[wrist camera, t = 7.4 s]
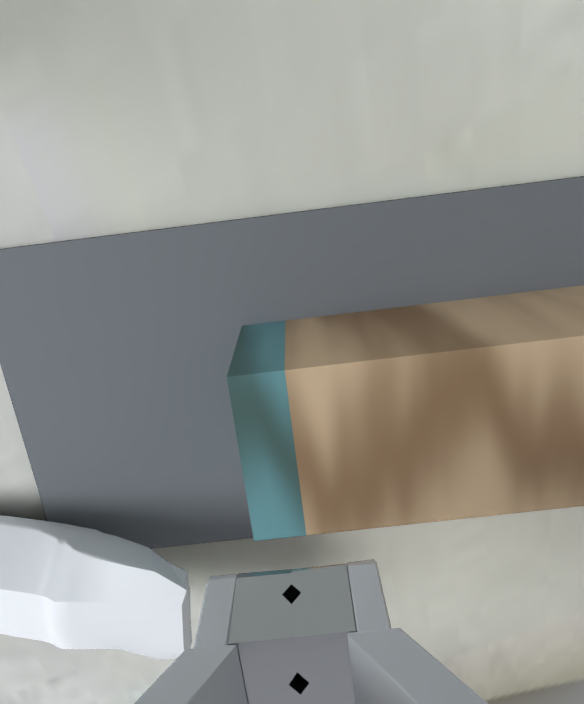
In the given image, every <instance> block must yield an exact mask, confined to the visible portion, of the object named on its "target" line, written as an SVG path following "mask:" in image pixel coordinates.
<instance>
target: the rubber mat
mask: <svg viewBox="0 0 584 704" xmlns="http://www.w3.org/2000/svg"><path fill="white" fill-rule="evenodd" d="M582 285H584V176H581V177H573V178H565V179H557V180H549V181H541V182H533V183H525V184H517V185H509V186H501V187H493V188H485V189H477V190H469V191H461V192H453V193H445V194H437V195H429V196H421V197H413V198H405V199H397V200H389V201H381V202H373V203H365V204H357V205H349V206H341V207H333V208H325V209H317V210H309V211H301V212H293V213H285V214H277V215H269V216H261V217H253V218H245V219H237V220H229V221H221V222H213V223H205V224H197V225H189V226H181V227H172V228H164V229H156V230H148V231H140V232H132V233H124V234H116V235H108V236H100V237H92V238H84V239H76V240H68V241H60V242H52V243H44V244H36V245H28V246H20V247H12V248H4V249H0V364H1V367H2V371H3V374H4V377H5V381H6V384H7V387H8V391H9V394H10V398H11V401H12V404H13V408H14V411H15V414H16V418H17V421H18V424H19V428H20V431H21V434H22V438H23V441H24V444H25V448H26V451H27V454H28V458H29V461H30V464H31V468H32V471H33V474H34V478H35V481H36V484H37V488H38V491H39V494H40V498H41V501H42V505H43V508H44V511H45V515H46V518H47V521H50V522H57V523H64V524H69V525H74V526H79V527H84V528H90V529H95V530H98V531H100V532H102V533H105V534H109V535H114V536H118V537H121V538H123V539H126V540H129V541H132V542H135V543H138V544H140V545H143V546H146V547H149V548H150V549H152V548H162V547H171V546H180V545H190V544H199V543H208V542H218V541H227V540H236V539H246V538H253V532H252V526H251V520H250V514H249V508H248V502H247V496H246V490H245V484H244V478H243V472H242V466H241V460H240V454H239V448H238V442H237V436H236V430H235V424H234V418H233V412H232V406H231V400H230V394H229V388H228V382H227V374H228V371H229V367H230V364H231V361H232V357H233V354H234V351H235V347H236V344H237V341H238V337H239V334H240V330H241V327H242V326H244V325H252V324H261V323H269V322H278V321H286V320H295V319H303V318H311V317H320V316H328V315H337V314H345V313H354V312H362V311H371V310H379V309H388V308H396V307H404V306H413V305H421V304H430V303H438V302H447V301H455V300H464V299H472V298H480V297H489V296H497V295H506V294H514V293H523V292H531V291H540V290H548V289H556V288H565V287H573V286H582Z"/></svg>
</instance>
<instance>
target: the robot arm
mask: <svg viewBox="0 0 584 704" xmlns="http://www.w3.org/2000/svg"><path fill="white" fill-rule="evenodd" d="M134 704H488V703H487V702H485V701H484V700H483V699H482V698H481V697H480V696H479V695H477V694H476V693H475V692H474V691H473V690H472V689H470V688H469V687H468V686H467V685H466V684H465V683H463V682H462V681H461V680H460V679H459V678H458V677H456V676H455V675H454V674H453V673H452V672H451V671H449V670H448V669H447V668H446V667H445V666H444V665H442V664H441V663H440V662H439V661H438V660H437V659H436V658H434V657H433V656H432V655H431V654H430V653H429V652H427V651H426V650H425V649H424V648H423V647H422V646H420V645H419V644H418V643H417V642H416V641H415V640H413V639H412V638H411V637H410V636H409V635H408V634H406V633H405V632H404V631H403V630H402V629H401V628H395V629H391V624H390V620H389V616H388V611H387V607H386V602H385V598H384V594H383V589H382V585H381V580H380V576H379V572H378V567H377V563H376V561H375V560H374V559H372V560H364V561H356V562H349V563H347V565H346V564H338V565H329V566H320V567H311V568H302V569H293V570H292V569H290V570H278V571H266V572H253V573H241V574H238V575H236V574H233V575H222V576H211V577H210V578H209V580H208V581H207V584H206V589H205V594H204V599H203V604H202V609H201V614H200V619H199V624H198V629H197V634H196V639H195V644H194V649H187V650H184V651H183V652H182V654H181V655H180V656H179V657H178V658H177V659H176V660H175V661H174V662H173V663H172V664H171V665H170V666H169V667H168V668H167V669H166V670H165V671H164V673H163V674H162V675H161V676H160V677H159V678H158V679H157V680H156V681H155V682H154V683H153V684H152V685H151V686H150V687H149V688H148V689H147V691H146V692H145V693H144V694H143V695H142V696H141V697H140V698H139V699H138V700H137V701H136V702H135V703H134Z"/></svg>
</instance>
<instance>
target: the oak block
mask: <svg viewBox="0 0 584 704" xmlns="http://www.w3.org/2000/svg"><path fill="white" fill-rule="evenodd" d="M227 382H228V388H229V394H230V400H231V406H232V412H233V418H234V424H235V430H236V436H237V442H238V448H239V454H240V460H241V466H242V472H243V478H244V484H245V490H246V496H247V502H248V508H249V514H250V520H251V526H252V532H253V538H254V541H258V540H267V539H277V538H286V537H295V536H305V535H314V534H324V533H333V532H342V531H352V530H361V529H370V528H380V527H389V526H399V525H408V524H417V523H427V522H436V521H446V520H455V519H464V518H474V517H483V516H492V515H502V514H511V513H521V512H530V511H539V510H549V509H558V508H568V507H577V506H584V285H582V286H573V287H565V288H556V289H548V290H540V291H531V292H523V293H514V294H506V295H497V296H489V297H480V298H472V299H464V300H455V301H447V302H438V303H430V304H421V305H413V306H404V307H396V308H388V309H379V310H371V311H362V312H354V313H345V314H337V315H328V316H320V317H311V318H303V319H295V320H286V321H278V322H269V323H261V324H252V325H244V326H242V327H241V330H240V334H239V337H238V341H237V344H236V347H235V351H234V354H233V357H232V361H231V364H230V367H229V371H228V374H227Z"/></svg>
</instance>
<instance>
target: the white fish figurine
mask: <svg viewBox="0 0 584 704" xmlns="http://www.w3.org/2000/svg"><path fill="white" fill-rule="evenodd" d="M0 634H5V635H10V636H15V637H21V638H28V639H34V640H40V641H44V642H48V643H52V644H54V645H56V646H57V647H59V648H60V649H121V650H124V651H128V652H131V653H135V654H139V655H143V656H147V657H151V658H155V659H159V660H164V659H173V658H178V657H179V656H180V655H181V654H182V652H183V651H184V650H187V649H190V646H191V642H192V634H191V618H190V589H189V580H188V572H187V571H185V570H183V569H181V568H178V567H176V566H174V565H172V564H170V563H168V562H167V561H165V560H164V559H163V558H162V557H160V556H159V555H158V554H157V553H155V552H154V551H153V550H152V549H150V548H149V547H146V546H143V545H140V544H138V543H135V542H132V541H129V540H126V539H123V538H121V537H118V536H114V535H109V534H105V533H102V532H100V531H98V530H95V529H90V528H84V527H79V526H74V525H69V524H64V523H57V522H50V521H43V520H35V519H28V518H20V517H12V516H0Z"/></svg>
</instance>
